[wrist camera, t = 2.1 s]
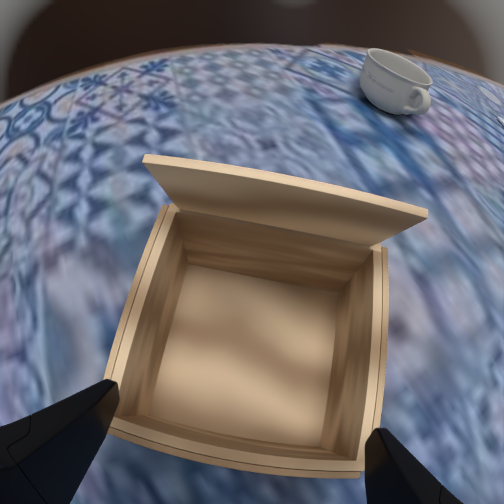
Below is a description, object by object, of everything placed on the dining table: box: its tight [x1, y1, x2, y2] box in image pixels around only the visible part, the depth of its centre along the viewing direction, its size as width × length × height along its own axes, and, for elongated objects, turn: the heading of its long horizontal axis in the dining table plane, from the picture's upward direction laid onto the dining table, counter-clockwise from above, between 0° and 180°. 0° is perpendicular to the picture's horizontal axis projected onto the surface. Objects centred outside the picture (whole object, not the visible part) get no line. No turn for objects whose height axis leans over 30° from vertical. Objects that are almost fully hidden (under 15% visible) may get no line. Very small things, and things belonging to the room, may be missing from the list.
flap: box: [142, 154, 428, 246], centre depth 15 cm, size 7×12×1 cm
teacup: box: [360, 48, 432, 115], centre depth 38 cm, size 14×11×8 cm
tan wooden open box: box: [103, 203, 389, 478], centre depth 19 cm, size 14×15×8 cm
